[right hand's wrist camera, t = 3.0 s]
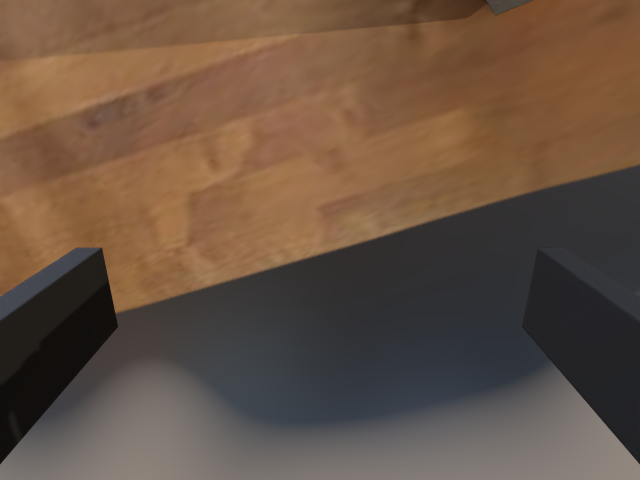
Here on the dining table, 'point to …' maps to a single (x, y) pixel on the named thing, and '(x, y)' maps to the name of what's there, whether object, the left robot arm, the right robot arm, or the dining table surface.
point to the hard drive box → (504, 5)
